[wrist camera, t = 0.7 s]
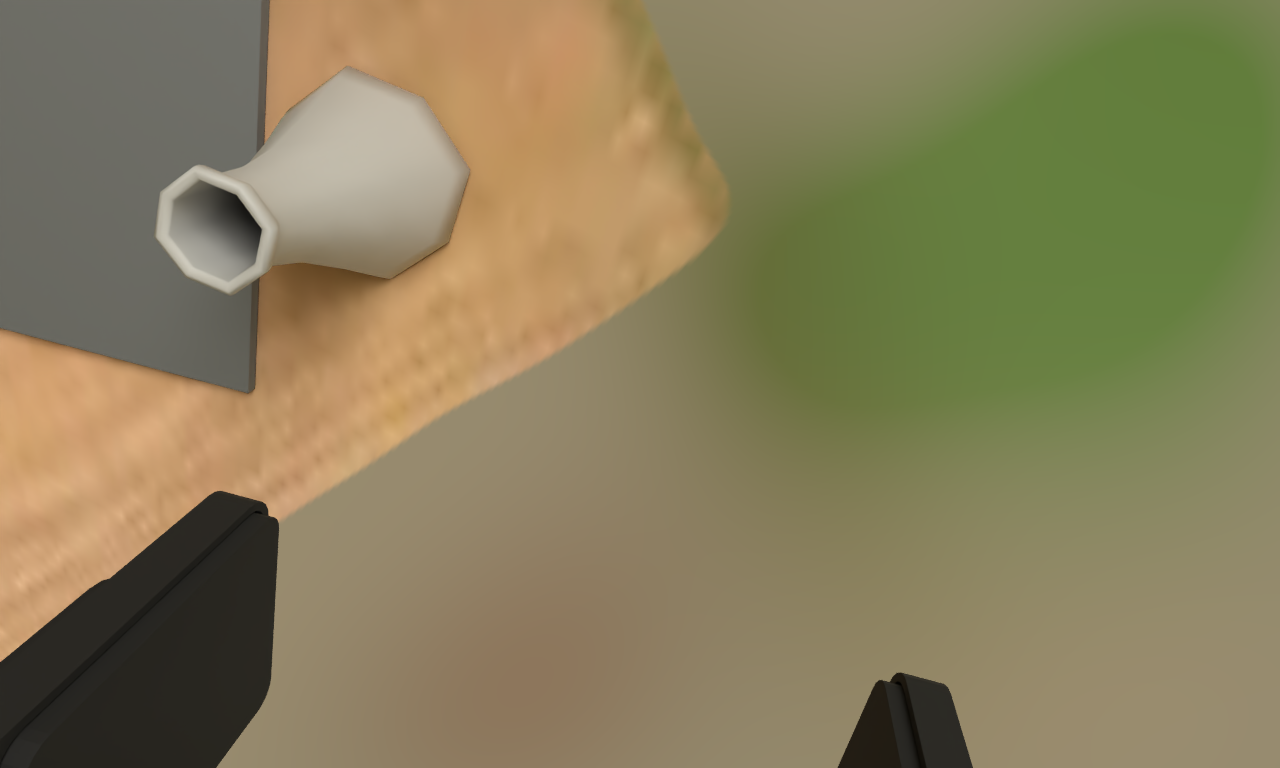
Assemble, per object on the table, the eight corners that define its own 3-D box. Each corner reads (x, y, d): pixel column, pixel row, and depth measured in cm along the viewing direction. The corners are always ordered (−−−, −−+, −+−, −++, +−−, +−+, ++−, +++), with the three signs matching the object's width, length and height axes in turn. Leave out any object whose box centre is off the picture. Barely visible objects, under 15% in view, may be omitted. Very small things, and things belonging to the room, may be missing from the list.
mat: (-61, 305, 35) (-72, 309, 35) (-134, -262, 27) (-149, -267, 27) (254, 388, 35) (248, 393, 34) (275, -163, 27) (267, -166, 26)
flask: (400, 308, 33) (261, 413, 23) (246, 185, 31) (37, 244, 22) (506, 166, 30) (398, 220, 21) (343, 26, 29) (152, 18, 20)
